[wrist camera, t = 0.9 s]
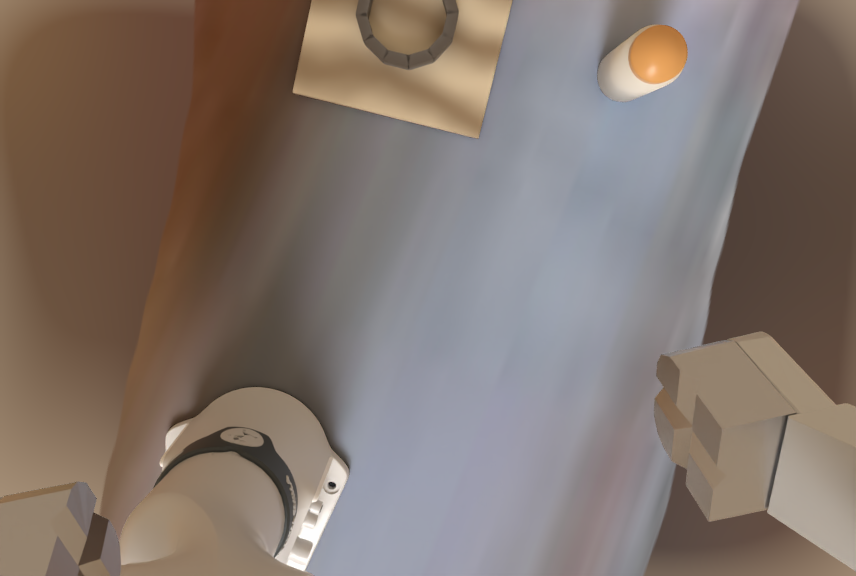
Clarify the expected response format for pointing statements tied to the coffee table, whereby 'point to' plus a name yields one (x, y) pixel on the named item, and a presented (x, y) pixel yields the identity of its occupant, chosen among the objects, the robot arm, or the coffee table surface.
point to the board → (405, 58)
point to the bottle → (642, 63)
